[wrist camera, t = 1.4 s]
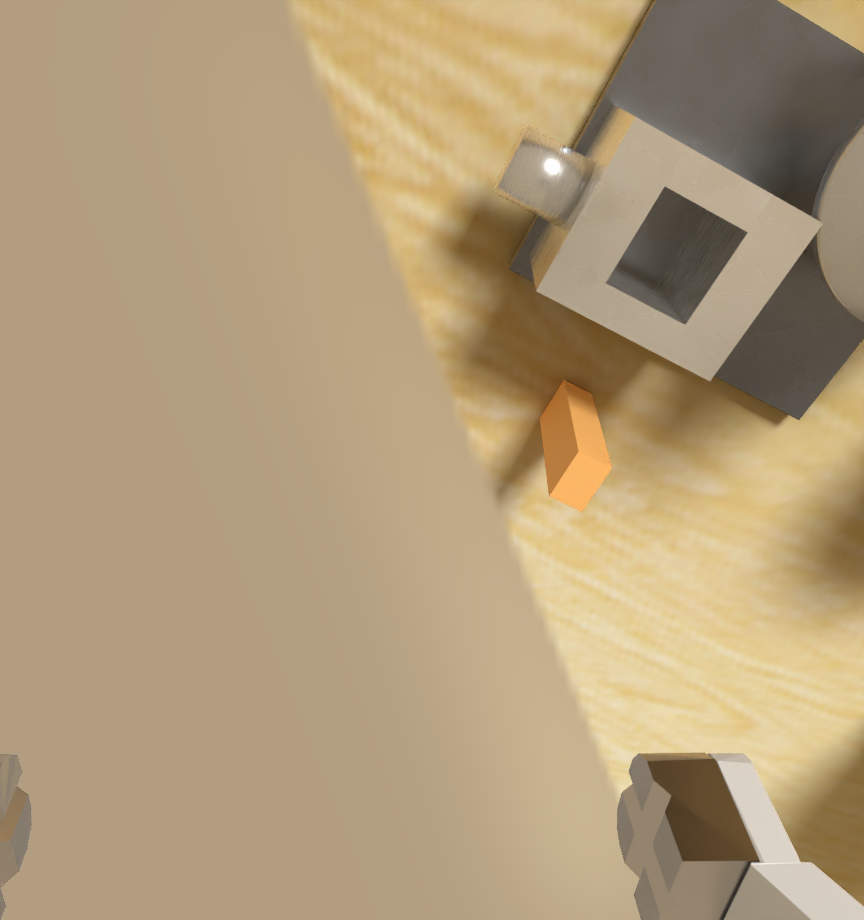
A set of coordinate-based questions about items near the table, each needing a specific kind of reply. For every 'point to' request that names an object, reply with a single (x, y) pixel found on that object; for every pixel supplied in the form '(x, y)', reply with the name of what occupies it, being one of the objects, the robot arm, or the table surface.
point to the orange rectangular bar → (573, 446)
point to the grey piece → (712, 199)
